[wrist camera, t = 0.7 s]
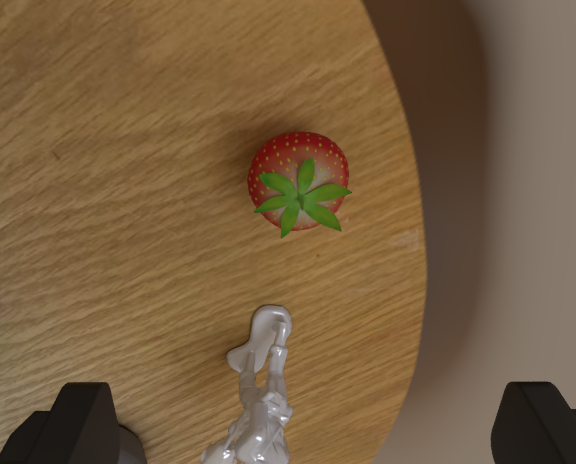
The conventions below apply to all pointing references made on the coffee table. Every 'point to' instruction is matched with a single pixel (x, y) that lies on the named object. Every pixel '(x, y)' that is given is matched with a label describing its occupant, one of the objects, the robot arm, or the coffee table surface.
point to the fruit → (299, 181)
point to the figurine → (258, 395)
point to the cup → (130, 449)
